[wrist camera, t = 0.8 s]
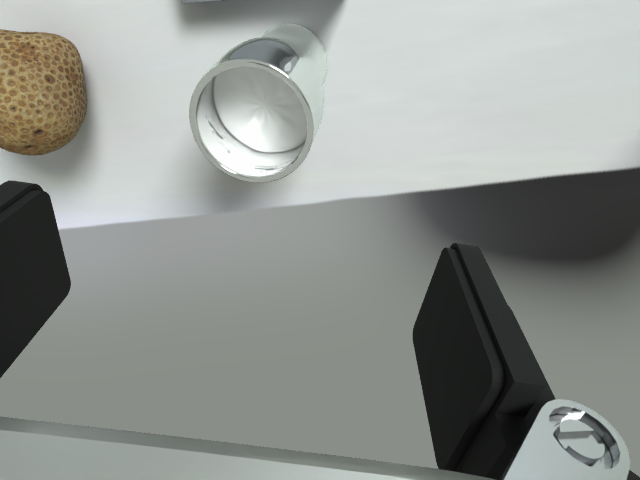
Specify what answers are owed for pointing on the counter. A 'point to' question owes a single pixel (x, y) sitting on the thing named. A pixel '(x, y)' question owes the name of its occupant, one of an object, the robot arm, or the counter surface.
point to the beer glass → (262, 104)
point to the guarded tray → (188, 0)
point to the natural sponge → (39, 92)
